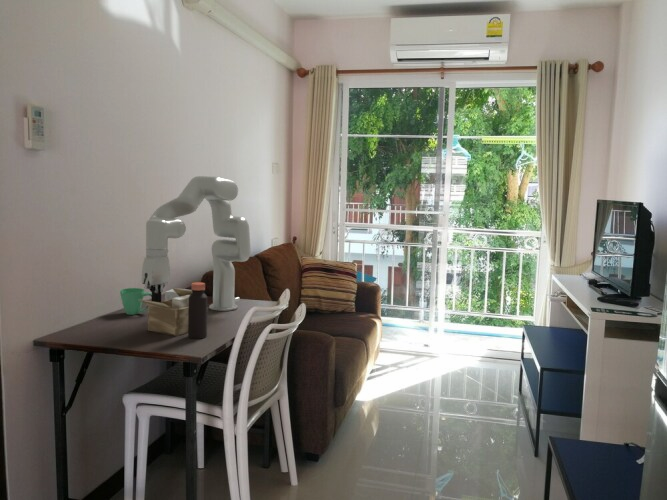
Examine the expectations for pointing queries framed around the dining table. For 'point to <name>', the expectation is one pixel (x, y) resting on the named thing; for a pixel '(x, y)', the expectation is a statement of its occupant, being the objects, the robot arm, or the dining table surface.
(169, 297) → the ink box
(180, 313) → the carton
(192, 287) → the bottle
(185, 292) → the rear flap
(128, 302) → the mug
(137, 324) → the dining table surface
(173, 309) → the front flap
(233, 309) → the robot arm
